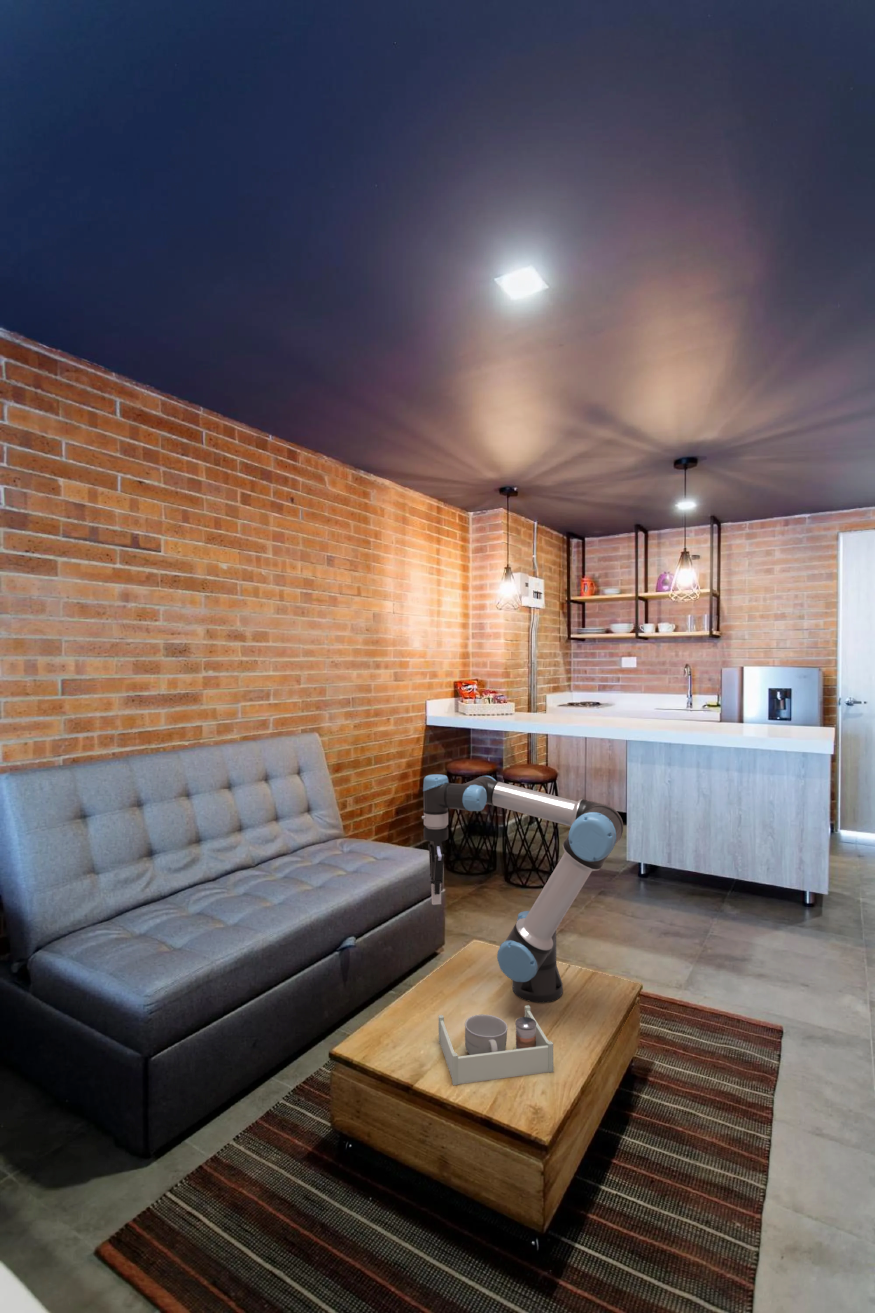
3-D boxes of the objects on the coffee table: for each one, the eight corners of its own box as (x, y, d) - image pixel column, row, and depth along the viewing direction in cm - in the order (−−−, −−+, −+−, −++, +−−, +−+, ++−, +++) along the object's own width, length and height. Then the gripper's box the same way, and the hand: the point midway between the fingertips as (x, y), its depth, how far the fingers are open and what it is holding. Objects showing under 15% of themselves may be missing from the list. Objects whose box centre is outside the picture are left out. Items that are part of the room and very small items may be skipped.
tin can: (532, 1047, 166) (532, 1016, 166) (539, 1059, 161) (538, 1027, 161) (513, 1050, 165) (512, 1018, 165) (519, 1062, 160) (519, 1029, 160)
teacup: (464, 1043, 168) (464, 1012, 168) (505, 1043, 168) (505, 1012, 168) (466, 1077, 154) (465, 1044, 154) (511, 1077, 154) (510, 1044, 154)
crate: (529, 1030, 174) (528, 1005, 174) (553, 1072, 156) (553, 1044, 156) (438, 1041, 169) (438, 1015, 169) (453, 1085, 151) (452, 1056, 151)
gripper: (420, 821, 201) (420, 897, 201) (427, 832, 189) (427, 912, 188) (443, 820, 203) (444, 895, 203) (452, 830, 190) (452, 910, 190)
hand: (436, 903), depth 196 cm, fingers closed
